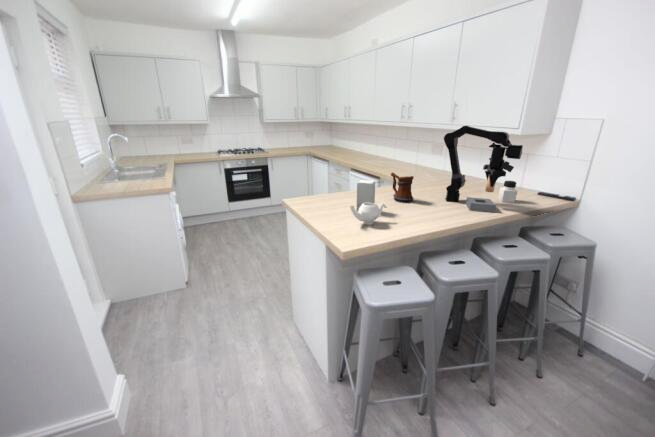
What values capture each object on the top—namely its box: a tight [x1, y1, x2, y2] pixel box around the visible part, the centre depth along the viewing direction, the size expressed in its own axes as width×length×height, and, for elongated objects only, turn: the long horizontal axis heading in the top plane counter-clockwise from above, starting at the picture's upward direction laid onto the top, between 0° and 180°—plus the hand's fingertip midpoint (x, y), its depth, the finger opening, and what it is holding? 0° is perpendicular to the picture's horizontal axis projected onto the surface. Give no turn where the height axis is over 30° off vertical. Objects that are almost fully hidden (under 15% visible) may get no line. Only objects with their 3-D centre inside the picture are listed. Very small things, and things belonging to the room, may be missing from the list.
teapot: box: [349, 202, 388, 226], centre depth 134 cm, size 10×20×9 cm, turn 115°
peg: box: [484, 177, 497, 193], centre depth 157 cm, size 4×4×9 cm
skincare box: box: [356, 179, 376, 212], centre depth 150 cm, size 8×7×16 cm
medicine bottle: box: [497, 180, 518, 204], centre depth 172 cm, size 7×7×12 cm
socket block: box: [465, 196, 497, 213], centre depth 159 cm, size 12×12×4 cm
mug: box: [390, 172, 415, 204], centre depth 172 cm, size 18×12×15 cm, turn 29°
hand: (490, 185), depth 157 cm, fingers closed on peg, 4 cm apart
